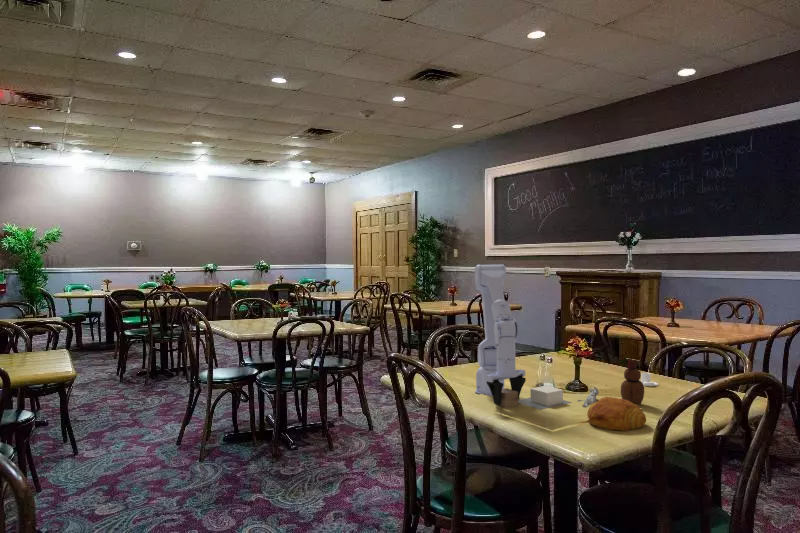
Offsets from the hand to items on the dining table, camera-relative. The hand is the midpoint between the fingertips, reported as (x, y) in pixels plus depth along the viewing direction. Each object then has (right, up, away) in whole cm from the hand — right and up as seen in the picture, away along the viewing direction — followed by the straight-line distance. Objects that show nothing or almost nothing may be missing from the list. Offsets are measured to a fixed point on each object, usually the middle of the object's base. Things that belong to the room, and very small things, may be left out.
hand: (506, 402), depth 176 cm
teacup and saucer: (+53, -1, +27) cm, 60 cm away
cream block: (+13, -1, +3) cm, 13 cm away
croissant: (+26, -2, -19) cm, 32 cm away
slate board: (+12, -1, +3) cm, 12 cm away
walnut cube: (0, -2, 0) cm, 2 cm away
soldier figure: (+27, -1, +1) cm, 27 cm away
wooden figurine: (+40, -1, +1) cm, 40 cm away
